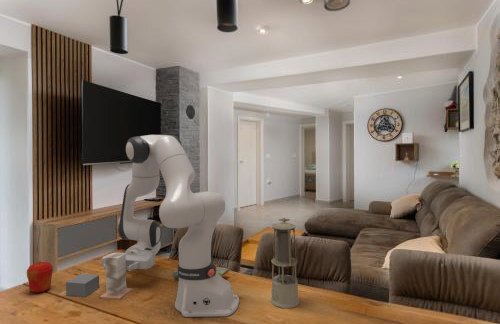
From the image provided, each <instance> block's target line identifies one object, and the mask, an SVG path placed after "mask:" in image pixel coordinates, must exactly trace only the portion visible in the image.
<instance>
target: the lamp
mask: <svg viewBox="0 0 500 324" xmlns="http://www.w3.org/2000/svg"><path fill="white" fill-rule="evenodd" d="M278 221H280V222H279V223H274V224H272V225H271V228H272V229H273V238H274V239H273V248H272V249H273V258H272V259H271V260H270V261H271V263H272V268H271V297H270V303H271V304H272V305H273V306H275V307H276V308H277V307H278V308H281V309H291V308H296V307H297V306H299V304H300V302H301V301H300V298H299V287H298V286H299V285H298V283H299V281H298V278H297V264H298V260H297V243H296V242H297V241H296V233H295V232H296V225H295V223H290V222H289V221H290V218H286V217H282V218H278ZM291 231H292V232H293V240H294V241H293V242H294V243H293V245H294V257H293V256H292V249H291V247H292V246H291V234H292V233H291ZM275 266H277V267H278V275H274V273H275ZM287 267H291V268H292V269H291V271H292V273H291V274H292V275H291V274H290V275H289V274H284V272H285V271H284V270H285V269H284V268H287Z"/></svg>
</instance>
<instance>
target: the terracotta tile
mask: <svg viewBox="0 0 500 324" xmlns="http://www.w3.org/2000/svg"><path fill="white" fill-rule="evenodd" d="M132 290H133V289H132V288H128V287H126V291H124V292H123V293H122V294H120V295H119V296H113V295H106V292H104V293H103V294H101V295H100V296H99V299H104V300H105V299H106V300H119V301H120V300H122V299H123V298H124V297H125V296H127V295H128V294H129V293H131V292H132Z"/></svg>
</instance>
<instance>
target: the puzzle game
mask: <svg viewBox="0 0 500 324" xmlns="http://www.w3.org/2000/svg"><path fill="white" fill-rule="evenodd" d="M177 270H178V269H176V270H174V271H173V272H172V276H173V277H174V278H175V280H177V281H179V280H178V275H177ZM229 272H230V269H229V268H225V267H220V266H219V267H218V266H217V268H216V273H217V274H218V275H220V276H221V277H222V278H223V277H224V276H225V275H226V274H228V273H229Z"/></svg>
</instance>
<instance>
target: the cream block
mask: <svg viewBox="0 0 500 324" xmlns="http://www.w3.org/2000/svg"><path fill="white" fill-rule="evenodd" d="M112 253H113V254H111V253H110V254H111V255H109V256H108V257H106V258H105V263H106V269H105V293H106V295H113V296H119V295H120V294H122V293H123V292H124V291H126V288H127V270H126V269H127V268H126V256H125V254H118V253H119V252H112Z"/></svg>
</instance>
